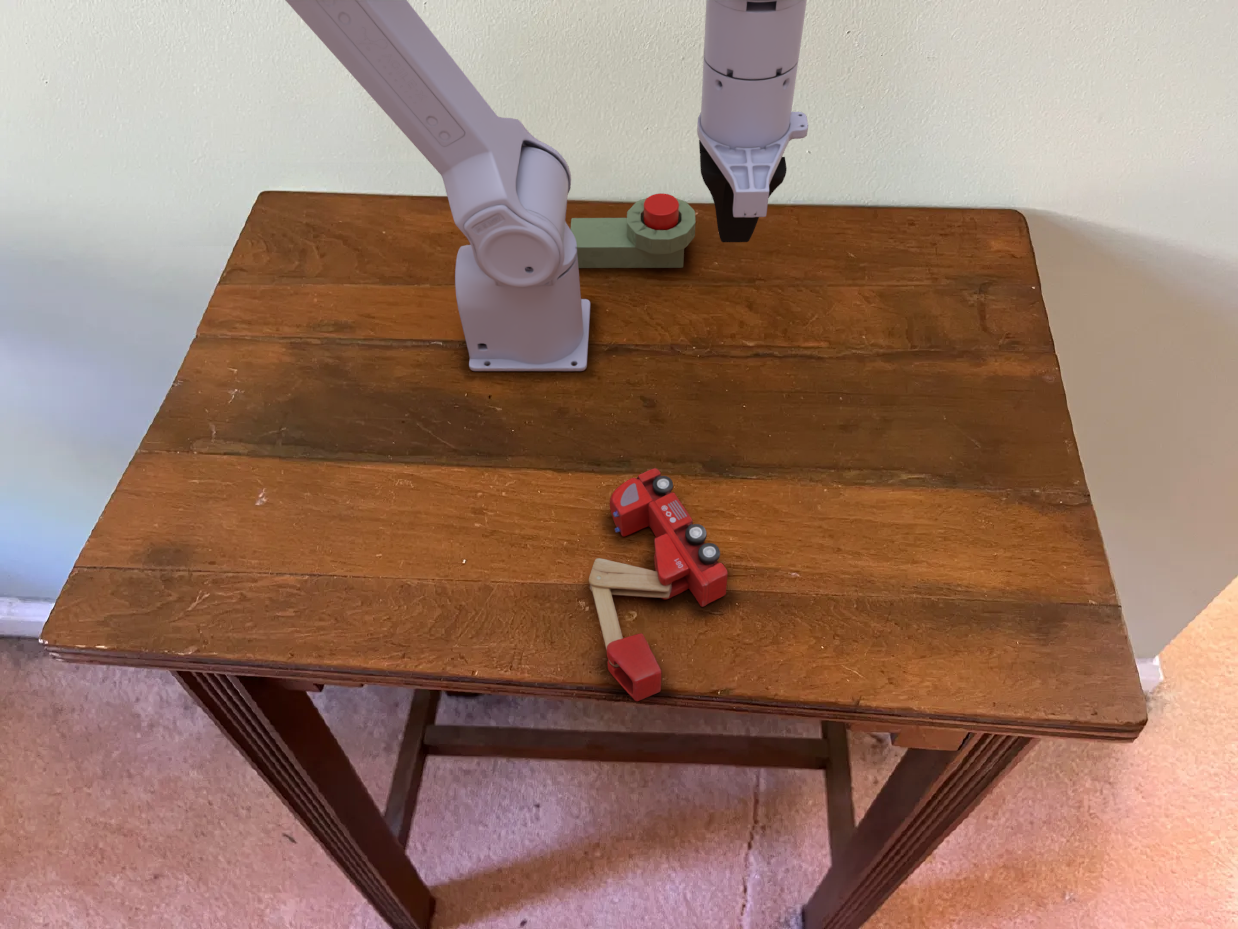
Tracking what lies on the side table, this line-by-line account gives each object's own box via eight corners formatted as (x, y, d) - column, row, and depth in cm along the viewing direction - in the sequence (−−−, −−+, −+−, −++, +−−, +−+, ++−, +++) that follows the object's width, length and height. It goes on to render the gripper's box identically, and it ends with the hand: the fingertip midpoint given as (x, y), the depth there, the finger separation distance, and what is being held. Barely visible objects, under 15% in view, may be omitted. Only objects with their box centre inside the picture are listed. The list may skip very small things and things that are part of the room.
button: (643, 231, 74) (643, 215, 73) (643, 209, 76) (643, 192, 75) (678, 231, 74) (679, 214, 73) (678, 209, 76) (678, 192, 74)
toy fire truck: (658, 458, 60) (531, 515, 58) (767, 616, 53) (627, 688, 50) (658, 485, 63) (537, 541, 61) (762, 639, 56) (629, 709, 53)
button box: (570, 275, 76) (566, 239, 73) (573, 232, 80) (570, 195, 77) (694, 275, 76) (696, 238, 73) (692, 231, 80) (694, 195, 76)
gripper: (832, 122, 48) (799, 304, 59) (805, -6, 56) (781, 174, 67) (704, 125, 48) (695, 305, 59) (696, -3, 57) (690, 175, 68)
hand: (734, 236), depth 63 cm, fingers closed
